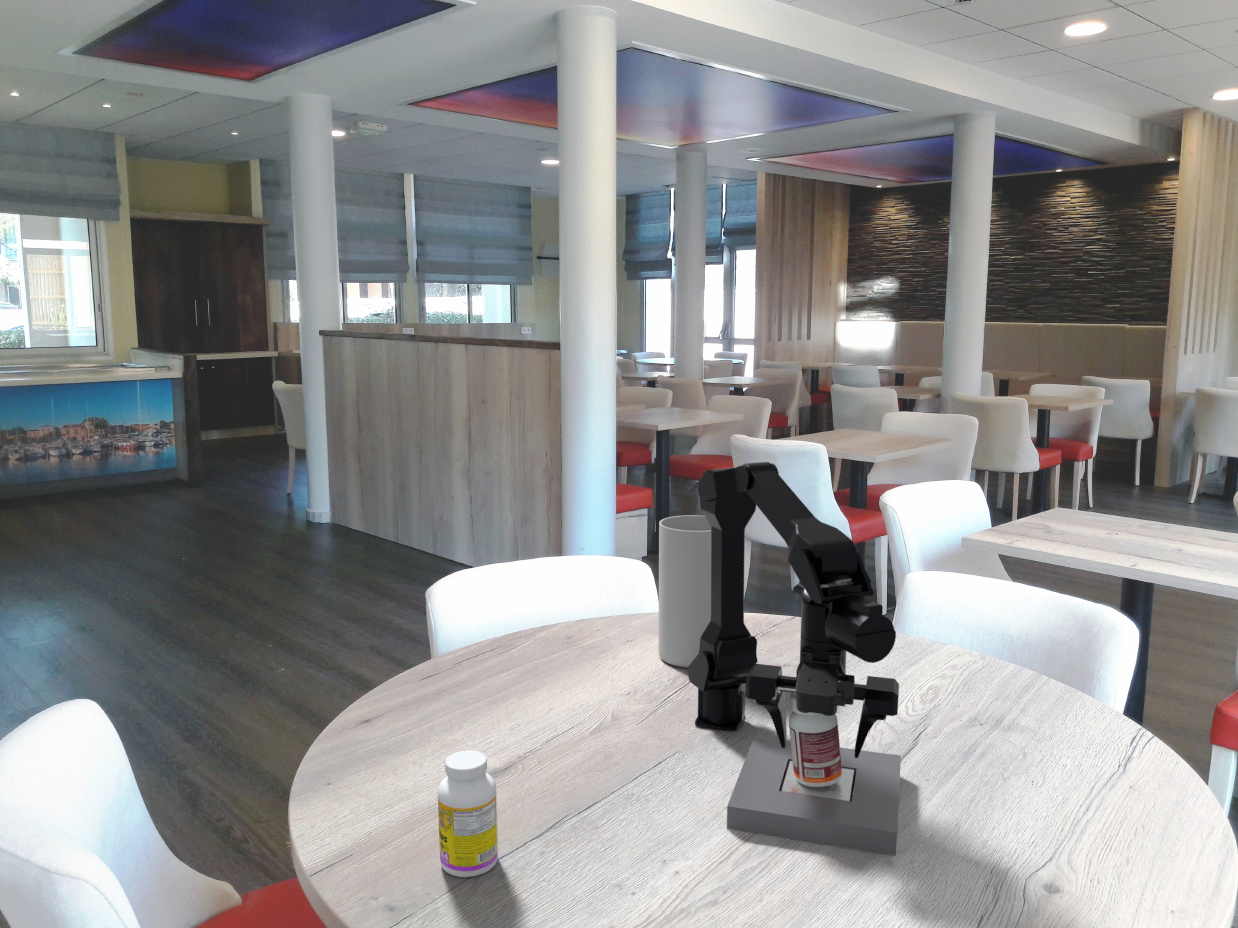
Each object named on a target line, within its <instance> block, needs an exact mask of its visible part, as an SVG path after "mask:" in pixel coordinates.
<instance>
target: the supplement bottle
mask: <svg viewBox="0 0 1238 928" xmlns="http://www.w3.org/2000/svg"><path fill="white" fill-rule="evenodd" d="M487 758H488V757H487V756H486V754H485V753H483V752H481V751H477V750H462V751H461V750H460V751H457V752H454V753H452V754H450V755H449V756H447V758H445V761H444V763H445V765H444V766H445V767H444V772H445V774H446V776H445V777H444V778H443V779H442V780H441V782H440V783H439V785H438V788H437V813H438V816H437V817H438V841H439V843H438V844H439V860H440V866H441V867H442V869H443V870H444V871H445V872H446V873H447V874H449V875H451V876H454V877H458V878H471V877H472V878H473V877H478V876H480V875H484V874H485V873H487V872H488V871H490V870H491V869H493V868H494V867H495V865H496V864H497V861H498V857H499V845H498V844H499V841H498V840H499V839H498V836H499V835H498V810H497V809H498V808H497V806H498V804H497V802H498V801H497V783H496V781H495V779H494V778H493V777H492V775H490V774H489V773H487V770H488V759H487Z"/></svg>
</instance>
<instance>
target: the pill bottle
mask: <svg viewBox="0 0 1238 928" xmlns="http://www.w3.org/2000/svg"><path fill="white" fill-rule="evenodd" d="M789 697H790V698H789V700H790V709H791V710H792V712H791V713H790V715H789V717H788V728H789V739H790V740H789V741H791V751H792V761H793V770H794V777H795V778H796V780H797V781H798V782H800V783H801V784H803V785H806V786H810V787H824V786H829V785H832V784H835V783H836V782H838V781H839V780H840V779H841V776H842V766H841V755H840V748H841V746H840V745H841V744H840V736H839V735H840V734H839V732H840V731H839V724H838V722H839V721H838V717H837V713H835V714H834V715H832V716H825V715H823V714H819V713H811V712H808V713H802V712H800V711H798V710H797V708H796V693H794V692H790V695H789Z"/></svg>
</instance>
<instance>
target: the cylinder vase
mask: <svg viewBox="0 0 1238 928" xmlns="http://www.w3.org/2000/svg"><path fill="white" fill-rule="evenodd" d="M658 524H659V525H658V526H659V527H658V645H657V646H658V651H657V652H658V655H659V657H660V659H661V660H662V661H664V662H665V663H666V664H668V665H672V666H675V667H678V668H685V669H688V666H689V665H690V664H691V663H692V661H693V660H694V659H695V658H696V656H697V655H698V654H699V647H700V638H701V636H702V634H703V633H704V631H705V629H706V628H707V626H708V624H709V623H710V621H711V525H710V523H709V522H708V520H707V519H706V517H705V515H694V514H693V515H691V514H690V515H686V514H685V515H676V516H674V515H673V516H669V517H665V518H663V519H661V520H660V521H659V523H658Z"/></svg>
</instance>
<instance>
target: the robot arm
mask: <svg viewBox="0 0 1238 928" xmlns="http://www.w3.org/2000/svg"><path fill="white" fill-rule="evenodd" d="M697 493H698V497H699V505H700V511H701V512H702V513H703V516H705V517H706V519H707V520H708V522H709V523H710V525H711V621H710V623H709V624H708V626H707V628H706V629H705V631H704V633H703V634H702V636H701V638H700V647H699V654H698V655H697V656H696V658H695V659H694V660H693V661H692V663H691V664H690V665H689V666H688V668H687V673H688V674H687V675H688V681H689V683H690V684H692V685H693V686H695V688H697V717H696V719H695V721H694V726H697V727H703V728H711V729H719V730H726V731H738V729H739V726H740V724H741V723H742V722H743V721H744V719H745V717H746V712H745V711H746V698H747V699H748V700H755V704H756V705H757V706H762V707H764V709H766V710H767V712H768V714H769V716H770V718H771V720H772V723H773V726H774V729H775V731H776V735H777V739H779V741H780V744H781V747H782V748H785V746H786V740H787V737H788V735H787V734H788V733H787V716H786V715H787V713H786V698H785V697H786V696H785V693H787V692H788V693H792V692H794V693H796V708H797V710H798V711H800V712H802V713H808V712H811V713H819V714H823V715H825V716H832V715H834V714H837V712H838V707H845V706H846V705H850V706H851V705H854V700H855V701H863V702H862V707H861V713H860V719H859V722H858V724H859V725H858V729H857V735H856V739H855V746H854V749H855V758H858V756H859V754H860V751H861V750H862V749H863V747H864V746H863V745H864V744H865V741H866V739H867V736H868V735H869V732H870V731H871V729H872V727H873V726H874V724H875V723H877V721H885V720H886V719H887V716H888V717H889V716H890V717H894V716H898V710H899V695H900V692H899V691H900V684H899V682H898V681H897V680H896V678H892V677H891V678H890V677H884V676H883V677H882V676H881V677H880V676H872V675H867V678H866V682H865V684H859V683H856V681H855V675H852V674H847V673H846V672H847V671H846V670H847V669H846V668H847V653H849V654H851V655H852V656H855V657H856V658H858V659H860V660H862V661H864V662H866V663H869V664H870V663H871V664H873V663H878V662H880V661H882V660H884V659H885V658H886V657H888V655H889V654H890V653H891V652H892V650H893V648H894V646H895V643H896V638H897V632H896V630H895V628H894V624H893V623H892V621H891V619H890V618H888V617H887V616H885V615H883V610H884V609H883V605H882V604H881V603H879V602H875V601H871V600H868V599H865V598H869V597H870V598H871V597H874V590H873V587H872V585H871V583H872V580H871V578H870V575H869V574H868V572H867V570H866V568H865V566H864V564H863V560H862V558H861V555H860V553H859V550H858V548H857V545H856V544H855V542H854V541H853V540H852V539H851V538H850V537H849V536H848V535H846V534H845V533H844V532H842V531H841V530H840V529H839V528H837V527H835V526H833V525H830V524H828V523H825V522H822V521H820V520H819V519H818V518H817V517H816V516H815V515H814V514H813V513H812V512H811V510H810V509H809V508H808V507H807V506H806V505H805V503H803V501H802V500H801V499H800V498H799V497H798V496H797V494H796V493H795V492H794V491H793V490H792V488H790V486H789V485H788V484H787V483H786V481H784V479H783V478H782V477H781V476H780V474H779V470H778V467H777V466H776V464H774V463H771V462H769V461H759V462H750V463H749V462H747V463H746V462H745V463H743V464H742V465H738V466H736V467H728V468H716V469H712V468H711V469H707V470H706V471H705V472H704V473H703V475H701V476H700V478H699V481H698V483H697ZM757 508H758V509H759V510H760V512H761V513H762V514H763V516H765V518H766V519H767V520H768V522H769V523H770V524H771V526H772V527H773V528H774V529H775V531H776V532H777V534H779V535H780V537H781V539H783V540H784V542H785V544H786V545H787V547H788V548H787V549H788V550H787V551H788V552H787V562H788V563H789V565H790V566H791V568H792V570H793V572H794V573H795V575H796V577H797V579H798V581H799V582H798V583H797V584H796V585H794V586H793V588H792V591H793V592H794V593H795V594H797V595H800V596H801V606H800V607H801V608H800V609H801V610H800V611H801V612H800V613H801V614H800V616H801V617H800V645H799V646H800V647H799V649H800V651H799V663H798V666H797V668H796V674H795V675H796V676H788V675H783V668H782V665H781V666H780V665H771V664H765V663H764V664H762V663H758V656H757V655H758V654H757V650H758V649H757V648H758V640H757V638H756V636H755V635H752V634H751V633H750V631H749V629H748V627H747V626H746V624H745V552H746V551H745V543H746V542H745V541H746V540H745V539H746V535H745V532H746V527H747V526H748V524H749V522H750V521H751V519H752V517H753V516H754V514H755V513H756V510H757ZM844 582H852V583H847V584H841V585H833V586H829V585H831V584H837V583H844ZM743 685H745V689H744V690H742V689H743Z"/></svg>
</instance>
